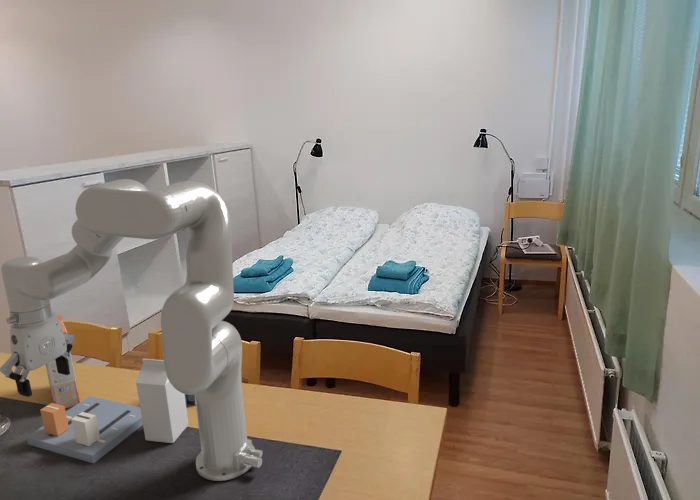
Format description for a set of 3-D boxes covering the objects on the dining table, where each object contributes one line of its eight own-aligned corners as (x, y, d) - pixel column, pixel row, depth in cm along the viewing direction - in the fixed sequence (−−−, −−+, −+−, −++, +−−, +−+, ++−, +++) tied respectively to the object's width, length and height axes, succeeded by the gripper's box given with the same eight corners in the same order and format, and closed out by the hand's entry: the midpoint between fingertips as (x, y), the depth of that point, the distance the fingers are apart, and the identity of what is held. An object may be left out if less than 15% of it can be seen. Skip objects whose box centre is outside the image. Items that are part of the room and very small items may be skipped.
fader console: (152, 417, 128) (151, 409, 127) (93, 463, 111) (92, 455, 111) (91, 402, 135) (89, 395, 134) (27, 444, 118) (26, 436, 118)
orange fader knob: (69, 428, 120) (64, 405, 119) (57, 436, 118) (52, 412, 116) (56, 425, 122) (51, 402, 120) (45, 432, 119) (40, 409, 117)
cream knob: (100, 438, 116) (95, 414, 115) (89, 446, 114) (84, 422, 112) (86, 434, 118) (82, 411, 116) (75, 442, 115) (70, 418, 113)
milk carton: (173, 444, 117) (162, 368, 112) (145, 440, 118) (133, 366, 113) (188, 425, 124) (179, 353, 119) (162, 422, 125) (151, 351, 120)
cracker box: (82, 404, 134) (67, 330, 128) (55, 413, 131) (39, 337, 125) (74, 382, 145) (61, 313, 139) (50, 389, 142) (35, 319, 136)
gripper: (5, 332, 103) (21, 408, 107) (77, 301, 118) (89, 368, 123) (-21, 327, 105) (-4, 401, 110) (53, 298, 121) (66, 363, 126)
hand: (45, 384), depth 116 cm, fingers open, 9 cm apart
